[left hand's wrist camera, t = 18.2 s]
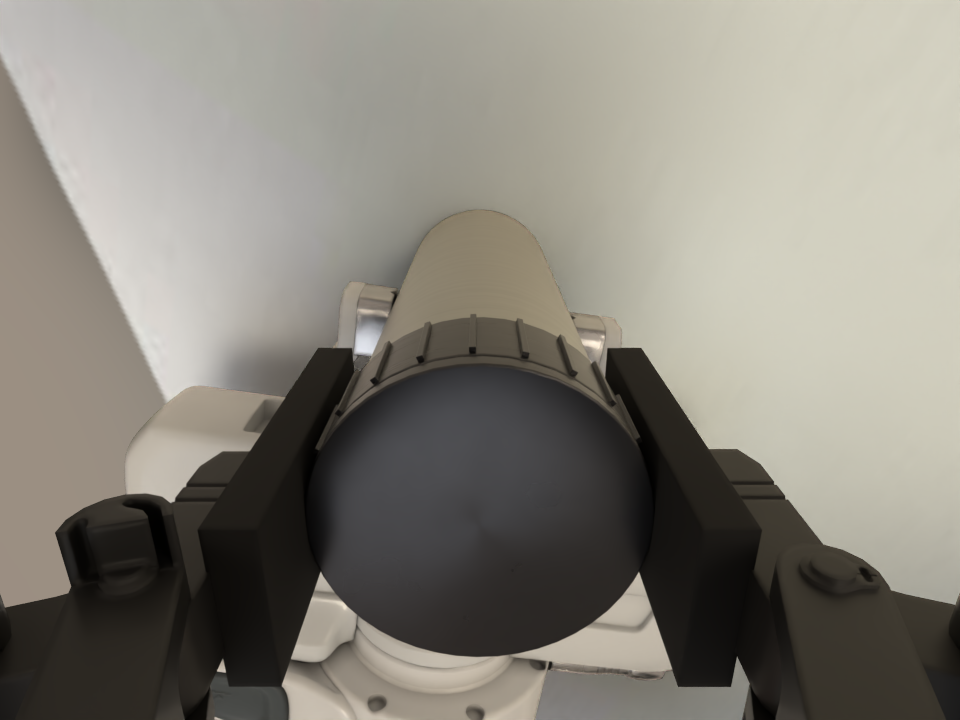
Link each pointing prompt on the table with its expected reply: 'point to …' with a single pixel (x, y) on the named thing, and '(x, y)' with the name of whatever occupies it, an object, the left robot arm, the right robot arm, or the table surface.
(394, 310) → the beige cylindrical container
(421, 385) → the lid
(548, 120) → the table surface
